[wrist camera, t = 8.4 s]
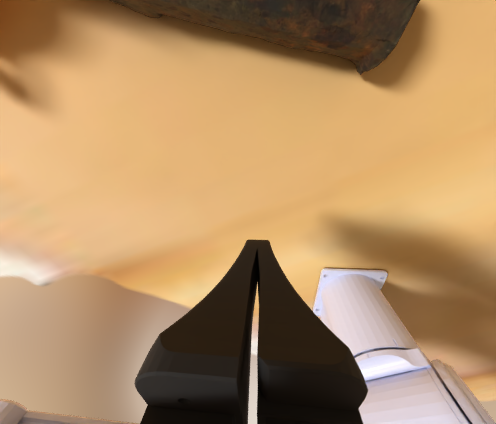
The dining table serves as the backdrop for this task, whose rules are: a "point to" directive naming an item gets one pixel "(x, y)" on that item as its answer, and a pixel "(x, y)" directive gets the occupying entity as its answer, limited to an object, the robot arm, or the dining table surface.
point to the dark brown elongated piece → (300, 23)
